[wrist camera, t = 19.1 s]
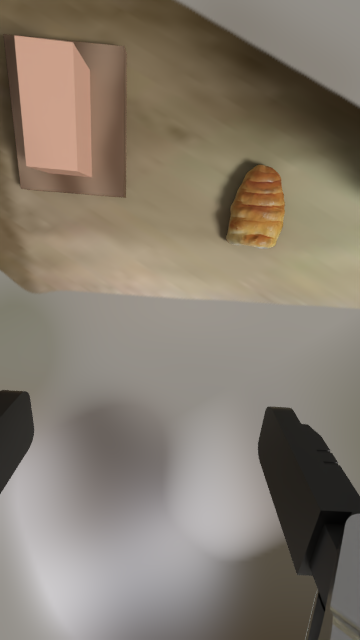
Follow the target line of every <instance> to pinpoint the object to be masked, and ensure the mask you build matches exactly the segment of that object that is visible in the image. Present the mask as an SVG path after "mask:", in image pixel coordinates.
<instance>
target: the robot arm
mask: <svg viewBox="0 0 360 640" xmlns="http://www.w3.org/2000/svg"><path fill="white" fill-rule="evenodd" d="M33 436H34V424H33V417H32V410H31V402H30V396H29V394H28V392H25V391H24V392H23V391H9V390H2V391H0V494H1V492H2V490H3V489H4V487H5V486H6V484H7V482H8V481H9V479H10V478H11V476H12V475H13V473H14V471H15V470H16V468H17V467H18V465H19V463H20V462H21V460H22V459H23V457H24V456H25V454H26V453H27V451H28V449H29V448H30V445H31V443H32V440H33ZM258 455H259V460H260V464H261V466H262V469H263V472H264V476H265V479H266V482H267V485H268V488H269V491H270V494H271V497H272V500H273V503H274V506H275V509H276V512H277V515H278V518H279V521H280V524H281V527H282V530H283V533H284V536H285V539H286V542H287V545H288V548H289V551H290V554H291V557H292V561H293V563H294V567H295V570H296V573H297V575H311V576H313V577H314V580H315V583H316V585H317V588H318V590H317V593H316V595H315V600H314V604H313V608H312V613H311V617H310V621H309V625H308V630H307V635H306V639H305V640H360V496H359V494H358V493H357V491H356V490H355V488H354V487H353V485H352V484H351V482H350V480H349V479H348V477H347V476H346V474H345V473H344V471H343V470H342V468H341V467H340V466H339V465H338V462H337V460H336V459H335V457H334V456H333V454H332V453H330V449H329V448H328V446H327V445H326V443H325V442H324V440H323V438H322V437H321V436H320V435H319V434H318V433H317V432H315V431H314V430H313V429H312V428H311V427H310V426H309V425H305V424H301V423H300V421H299V420H298V418H297V416H296V414H295V413H294V411H293V410H292V409H291V408H284V407H267V409H266V411H265V415H264V419H263V424H262V428H261V433H260V437H259V442H258Z"/></svg>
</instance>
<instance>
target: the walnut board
mask: <svg viewBox="0 0 360 640" xmlns="http://www.w3.org/2000/svg"><path fill="white" fill-rule="evenodd" d="M3 35H4V44H5V53H6V61H7V70H8V79H9V88H10V97H11V106H12V114H13V123H14V132H15V141H16V150H17V159H18V168H19V176H20V185H21V189H27V190H39V191H51V192H63V193H75V194H88V195H100V196H112V197H124V198H126V106H127V53H126V50H125V47H124V46H116V45H106V44H96V43H86V42H76V41H66V40H57V41H65V42H73V43H74V45H75V47H76V48H77V50H78V51H79V53H80V55H81V56H82V58H83V60H84V61H85V63H86V65H87V66H88V68H89V69H90V105H91V156H92V177H83V176H73V175H63V174H53V173H46V172H43V171H40V170H37V169H34V168H30V167H27V166H26V158H25V147H24V136H23V125H22V115H21V104H20V93H19V82H18V71H17V60H16V50H15V39H14V36H17V35H7V34H3ZM23 37H27V36H23ZM31 38H36V37H31ZM40 39H46V38H40ZM48 40H56V39H48Z"/></svg>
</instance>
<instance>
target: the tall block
mask: <svg viewBox="0 0 360 640" xmlns="http://www.w3.org/2000/svg"><path fill="white" fill-rule="evenodd" d="M14 39H15V50H16V60H17V71H18V82H19V93H20V104H21V115H22V125H23V136H24V147H25V158H26V166H27V167H30V168H34V169H37V170H40V171H43V172H46V173H53V174H63V175H73V176H83V177H92V156H91V105H90V69H89V68H88V66H87V65H86V63H85V61H84V60H83V58H82V56H81V55H80V53H79V51H78V50H77V48H76V47H75V45H74V43H73V42H65V41H57V40H48V39H40V38H31V37H23V36H14Z"/></svg>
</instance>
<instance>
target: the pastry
mask: <svg viewBox="0 0 360 640" xmlns="http://www.w3.org/2000/svg"><path fill="white" fill-rule="evenodd" d="M284 205H285V202H284V194H283V192H282V186H281V177H280V176H279V174H278V173H277V172H276V171H275V170H274V169H273V168H271V167H268V166H264V165H257V166H255V167H254V168H253V169H252V170H250V171H249V172H247V174H246V175H245V178H244V180H243V182H242V184H241V186H240V187H239V189H238V191H237V194H236V197H235V200H234V202H233V204H232V205H231V208H230V212H231V216H230V222H229V227H228V233H227V236H226V239H227V241H228V243H230V244H234V245H249V246H253V247H256V248H263V249H267V248H271V247H273V246H275V244H276V240H277V238H278V237H279V235H280V232H281V229H282V227H283V217H284V213H285V210H284Z"/></svg>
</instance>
